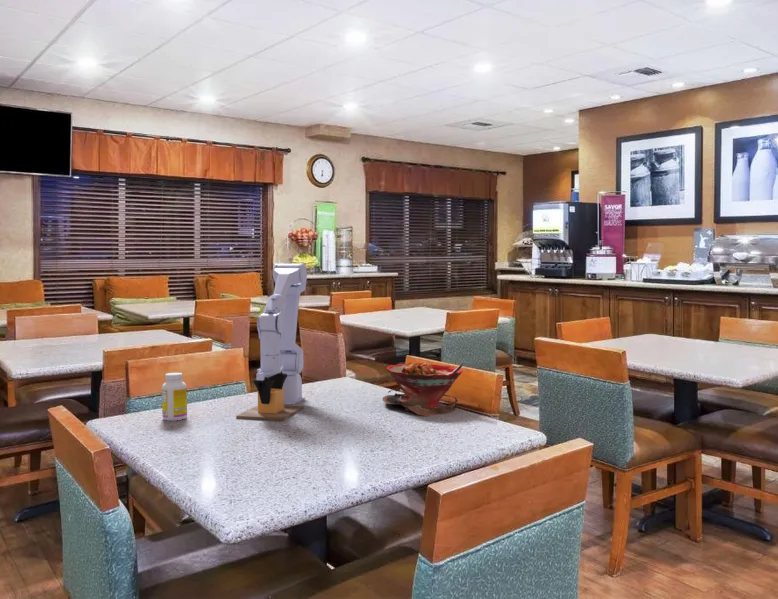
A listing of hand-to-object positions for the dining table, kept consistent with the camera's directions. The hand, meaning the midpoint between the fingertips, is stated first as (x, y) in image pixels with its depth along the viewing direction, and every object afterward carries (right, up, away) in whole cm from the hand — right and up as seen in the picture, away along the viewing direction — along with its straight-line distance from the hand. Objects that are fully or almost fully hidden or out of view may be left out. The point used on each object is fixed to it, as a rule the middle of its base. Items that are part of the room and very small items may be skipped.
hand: (270, 400), depth 192 cm
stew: (+46, -4, +9) cm, 47 cm away
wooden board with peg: (0, -4, 0) cm, 4 cm away
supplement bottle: (-26, -4, -5) cm, 27 cm away
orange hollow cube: (0, -3, 0) cm, 3 cm away
